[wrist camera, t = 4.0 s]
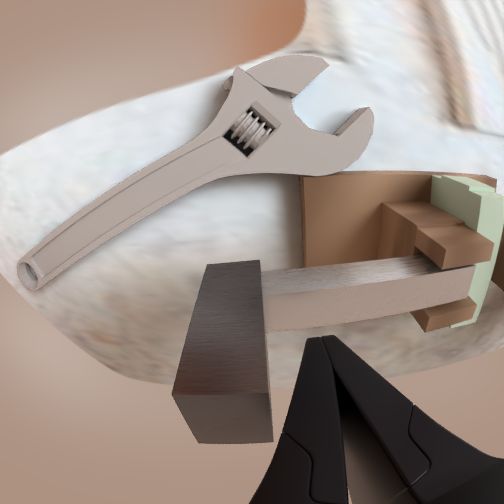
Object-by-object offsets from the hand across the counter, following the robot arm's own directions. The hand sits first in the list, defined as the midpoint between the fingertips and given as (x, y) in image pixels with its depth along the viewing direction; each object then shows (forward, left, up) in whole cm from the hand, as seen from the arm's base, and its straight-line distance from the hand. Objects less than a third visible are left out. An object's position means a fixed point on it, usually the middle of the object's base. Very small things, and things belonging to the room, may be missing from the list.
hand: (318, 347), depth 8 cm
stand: (-8, 0, -9) cm, 12 cm away
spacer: (-10, 0, -7) cm, 12 cm away
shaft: (-2, 0, -4) cm, 4 cm away
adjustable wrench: (+8, -4, -9) cm, 13 cm away
